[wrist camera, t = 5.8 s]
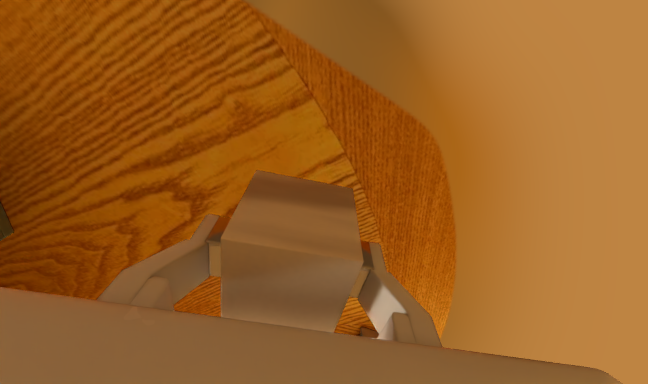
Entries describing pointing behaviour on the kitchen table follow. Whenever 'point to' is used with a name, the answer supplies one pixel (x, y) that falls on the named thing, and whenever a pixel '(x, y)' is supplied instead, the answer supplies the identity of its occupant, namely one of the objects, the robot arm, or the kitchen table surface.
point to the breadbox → (4, 224)
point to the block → (290, 253)
